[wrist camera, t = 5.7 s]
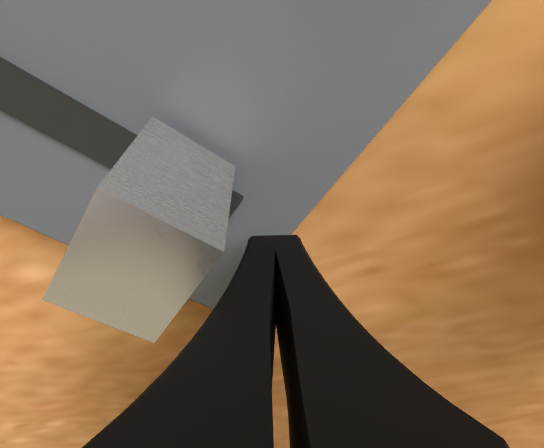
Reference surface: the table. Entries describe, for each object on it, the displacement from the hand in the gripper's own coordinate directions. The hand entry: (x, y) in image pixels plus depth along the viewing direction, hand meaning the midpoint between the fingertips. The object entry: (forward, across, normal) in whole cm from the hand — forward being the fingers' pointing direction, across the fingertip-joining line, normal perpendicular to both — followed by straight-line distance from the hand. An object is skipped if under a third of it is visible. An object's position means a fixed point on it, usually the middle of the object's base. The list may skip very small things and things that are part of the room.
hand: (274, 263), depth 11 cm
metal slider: (+1, +3, -2) cm, 4 cm away
